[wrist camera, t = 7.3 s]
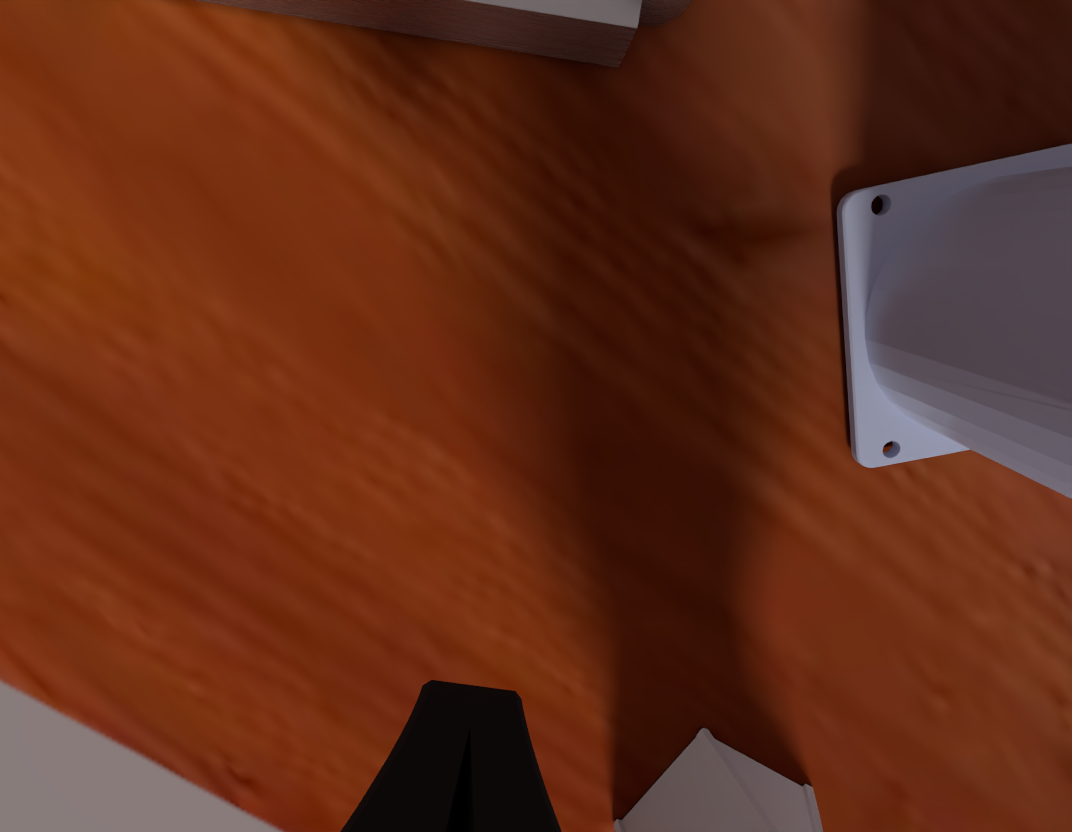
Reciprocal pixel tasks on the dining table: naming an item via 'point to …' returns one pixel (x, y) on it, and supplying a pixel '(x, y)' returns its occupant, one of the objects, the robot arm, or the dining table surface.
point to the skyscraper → (722, 796)
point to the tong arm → (497, 21)
